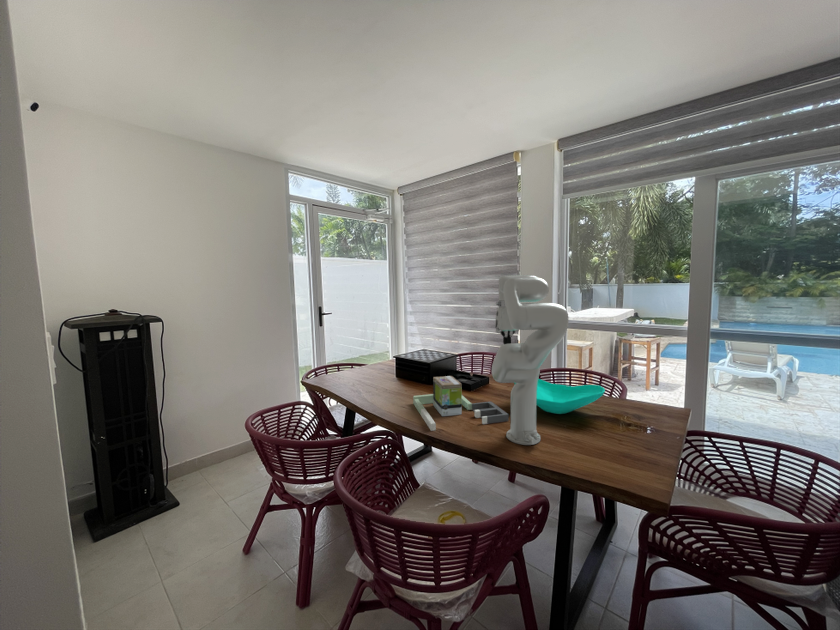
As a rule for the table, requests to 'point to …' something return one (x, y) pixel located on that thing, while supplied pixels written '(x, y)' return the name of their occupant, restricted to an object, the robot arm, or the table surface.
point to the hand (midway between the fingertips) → (507, 345)
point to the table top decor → (565, 396)
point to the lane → (429, 399)
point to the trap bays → (491, 412)
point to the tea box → (447, 395)
